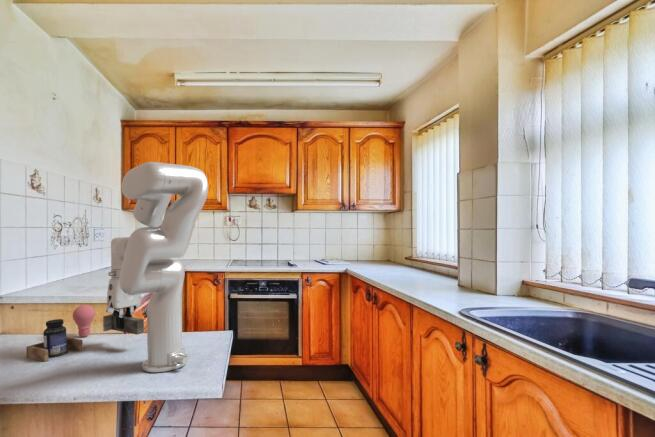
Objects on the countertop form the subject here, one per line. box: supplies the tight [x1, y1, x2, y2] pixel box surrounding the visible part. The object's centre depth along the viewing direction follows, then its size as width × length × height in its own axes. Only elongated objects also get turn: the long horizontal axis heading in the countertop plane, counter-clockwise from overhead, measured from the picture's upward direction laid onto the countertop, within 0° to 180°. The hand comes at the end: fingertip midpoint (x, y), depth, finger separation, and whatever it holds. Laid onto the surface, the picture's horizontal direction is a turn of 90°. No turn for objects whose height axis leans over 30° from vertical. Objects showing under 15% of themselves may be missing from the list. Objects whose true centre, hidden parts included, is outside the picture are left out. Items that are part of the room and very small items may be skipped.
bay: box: [26, 336, 84, 363], centre depth 125 cm, size 10×12×4 cm
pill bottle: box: [42, 318, 68, 358], centre depth 125 cm, size 6×6×11 cm
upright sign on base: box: [102, 311, 145, 335], centre depth 130 cm, size 14×7×5 cm, turn 64°
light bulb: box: [72, 304, 96, 338], centre depth 144 cm, size 7×7×12 cm
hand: (124, 326), depth 130 cm, fingers closed on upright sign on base
